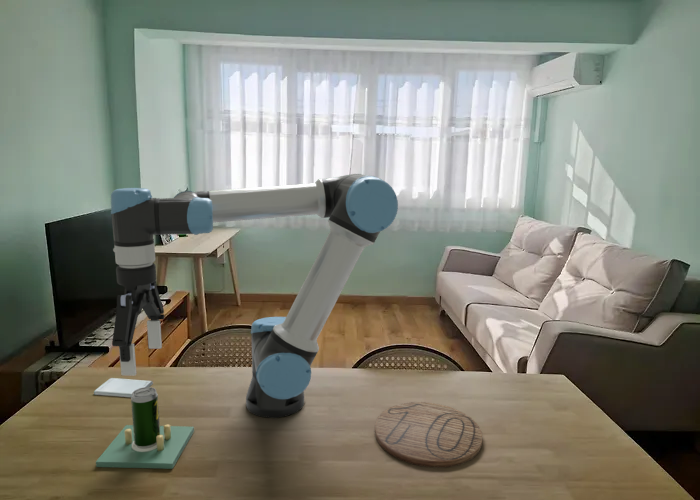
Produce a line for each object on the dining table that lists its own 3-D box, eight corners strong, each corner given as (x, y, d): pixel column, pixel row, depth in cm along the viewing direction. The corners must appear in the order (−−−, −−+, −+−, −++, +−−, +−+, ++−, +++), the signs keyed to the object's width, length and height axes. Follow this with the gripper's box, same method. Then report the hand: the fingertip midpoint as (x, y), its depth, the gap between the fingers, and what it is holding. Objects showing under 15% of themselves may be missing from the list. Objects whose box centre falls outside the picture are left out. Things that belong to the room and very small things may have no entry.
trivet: (360, 453, 111) (360, 445, 110) (390, 401, 134) (390, 395, 133) (475, 480, 102) (476, 472, 102) (486, 420, 126) (487, 413, 125)
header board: (194, 431, 118) (193, 414, 117) (172, 468, 104) (171, 450, 103) (126, 429, 118) (125, 413, 117) (96, 466, 104) (94, 448, 103)
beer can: (137, 452, 107) (133, 400, 104) (132, 440, 111) (128, 390, 109) (163, 444, 110) (160, 394, 107) (157, 433, 114) (154, 384, 112)
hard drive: (152, 380, 140) (111, 376, 142) (137, 394, 132) (93, 390, 134) (153, 385, 141) (111, 382, 142) (137, 400, 133) (93, 396, 134)
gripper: (142, 251, 115) (148, 338, 119) (85, 279, 90) (96, 387, 95) (175, 251, 115) (180, 338, 119) (127, 280, 90) (135, 388, 95)
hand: (143, 360), depth 107 cm, fingers open, 13 cm apart
